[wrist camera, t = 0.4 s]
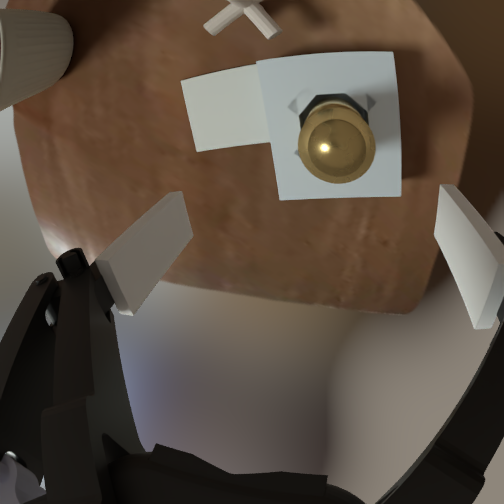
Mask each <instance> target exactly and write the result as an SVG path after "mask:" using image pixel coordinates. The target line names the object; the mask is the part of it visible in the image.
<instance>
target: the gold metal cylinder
mask: <svg viewBox="0 0 504 504" xmlns="http://www.w3.org/2000/svg"><path fill="white" fill-rule="evenodd" d="M298 152H299V156H300V158H301V161H302V163H303V164H304V166H305V167H306V169H307V170H308V171H309V172H310V173H311V174H312V175H314V176H315V177H317V178H319V179H320V180H323V181H325V182H329V183H334V184H342V183H348V182H352V181H354V180H356V179H358V178H360V177H361V176H363V175H364V174H365V173H366V172H367V171H368V169H369V168H370V166H371V165H372V163H373V160H374V157H375V152H376V144H375V139H374V135H373V133H372V131H371V129H370V127H369V126H368V124H367V123H366V122H365V120H364V119H363V118H362V116H361V115H360V114H359V113H358V111H357V110H356V109H355V107H354V106H353V105H352V104H351V103H350V102H348V101H347V100H345V99H342V98H339V97H327V98H324V99H321V100H320V101H318V102H317V103H316V104H315V105H314V106H313V107H312V109H311V111H310V113H309V115H308V117H307V119H306V121H305V123H304V125H303V127H302V129H301V131H300V134H299V138H298Z"/></svg>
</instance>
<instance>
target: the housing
mask: <svg viewBox="0 0 504 504" xmlns="http://www.w3.org/2000/svg"><path fill="white" fill-rule="evenodd" d="M256 64H257V69H258V74H259V79H260V85H261V90H262V96H263V101H264V107H265V112H266V118H267V124H268V130H269V136H270V142H271V148H272V154H273V160H274V166H275V172H276V179H277V185H278V192H279V198H280V200H295V199H317V198H345V197H397V196H401V130H400V113H399V99H398V89H397V79H396V71H395V63H394V56H393V52H377V51H365V52H334V53H319V54H308V55H298V56H289V57H281V58H274V59H267V60H261V61H256ZM327 97H339V98H342V99H345V100H347V101H348V102H350V103H351V104H352V105H353V106H354V107H355V109H356V110H357V111H358V113H359V114H360V115H361V116H362V118H363V119H364V120H365V122H366V123H367V124H368V126H369V127H370V129H371V131H372V133H373V135H374V139H375V144H376V152H375V157H374V160H373V163H372V165H371V166H370V168H369V169H368V171H367V172H366V173H365V174H364V175H363V176H361V177H360V178H358V179H356V180H354V181H352V182H348V183H342V184H334V183H329V182H325V181H323V180H320V179H319V178H317V177H315V176H314V175H312V174H311V173H310V172H309V171H308V170H307V169H306V167H305V166H304V164H303V163H302V161H301V158H300V156H299V152H298V138H299V134H300V131H301V129H302V127H303V125H304V123H305V121H306V119H307V117H308V115H309V113H310V111H311V109H312V107H313V106H314V105H315V104H316V103H317V102H318V101H320V100H321V99H324V98H327Z"/></svg>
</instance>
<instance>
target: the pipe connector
mask: <svg viewBox="0 0 504 504" xmlns="http://www.w3.org/2000/svg"><path fill="white" fill-rule="evenodd" d="M227 1H229V2H231V4H230V5H228V6H227V7H226V8H224V9H223V10H222V11H220V12H219V13H218V14H217V15H215V16H214V17H213V18H212V19H210V20H209V21H208V22H207V23H205V24H204V25H203V26H204V28H205V29H206V30H207V31H208V32H209V33H210V34H212V35H214V36H215V35H216V34H218V33H219V32H220V31H221V30H223V29H224V28H225V27H226V26H228V25H229V24H230V23H232V22H233V21H234V20H236V19H237V18H238V17H240V16H241V15H243V14H244V13H245V14H246V15H247V17H248V18H249V19H250V20H251V21H252V22H253V23H254V24H255V25H256V26H257V28H258V29H259V30H260V31H261V32H262V33H263V34H264V36H265V37H266V38H267V39H268V40H270V39H273V38H274V37H276V36H278V35H279V34H280V33H281V32H282V31H283V30H282V29H281V28H280V27H279V26H278V25H277V23H276V22H275V21H274V20H273V19H272V18H271V17H270V16H269V14H268V13H267V12H266V11H265V10H264V8H263V7H262V6H261V5H260V4H259V3H260V2H261V1H263V0H227Z"/></svg>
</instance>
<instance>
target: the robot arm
mask: <svg viewBox="0 0 504 504" xmlns="http://www.w3.org/2000/svg"><path fill="white" fill-rule="evenodd" d="M434 236H435V238H436V240H437V242H438V244H439V246H440V248H441V250H442V252H443V254H444V256H445V258H446V260H447V262H448V265H449V267H450V269H451V272H452V274H453V276H454V278H455V281H456V283H457V285H458V288H459V290H460V293H461V295H462V298H463V300H464V303H465V305H466V308H467V310H468V313H469V316H470V318H471V321H472V324H473V327H474V329H485V328H491V327H492V325H493V323H494V321H495V318H496V316H498V319H499V321H500V325H499V327H498V330H497V332H496V334H495V336H494V338H493V340H492V342H491V344H490V347H489V349H488V351H487V353H486V355H485V357H484V359H483V361H482V362H481V364H480V366H479V368H478V370H477V372H476V374H475V375H474V377H473V379H472V381H471V382H470V384H469V386H468V388H467V389H466V391H465V393H464V394H463V396H462V398H461V399H460V401H459V402H458V404H457V405H456V407H455V409H454V410H453V412H452V413H451V415H450V416H449V418H448V419H447V420H446V422H445V423H444V425H443V426H442V428H441V429H440V430H439V432H438V433H437V434H436V436H435V437H434V439H433V440H432V441H431V442H430V444H429V445H428V446H427V448H426V449H425V450H424V451H423V453H422V454H421V455H420V456H419V457H418V459H417V460H416V461H415V462H414V463H413V465H412V466H411V467H410V468H409V469H408V470H407V472H406V473H405V474H404V475H403V476H402V477H401V478H400V479H399V480H398V482H396V483H395V484H394V485H393V487H391V488H390V490H388V491H387V493H385V494H384V495H383V496H382V497H381V498H380V499H379V500H378V501H377V502H376V503H375V504H472V503H473V502H474V500H475V499H476V497H477V495H478V494H479V492H480V491H481V489H482V487H483V485H484V482H485V477H484V476H483V475H484V472H485V470H486V468H487V466H488V464H489V463H490V461H491V459H492V458H493V456H494V454H495V452H496V450H497V449H498V447H499V445H500V443H501V441H502V439H503V437H504V237H503V236H502V235H501V234H499V233H498V232H493V231H492V229H491V228H490V227H489V225H488V224H487V223H486V222H485V220H484V219H483V218H482V217H481V216H480V215H479V213H478V212H477V211H476V210H475V208H474V207H473V206H472V205H471V204H470V203H469V201H468V200H467V199H466V198H465V197H464V196H463V195H462V194H461V192H460V191H459V190H458V189H457V188H456V187H455V186H454V185H446V184H440V190H439V200H438V209H437V217H436V225H435V232H434ZM192 237H193V233H192V229H191V225H190V221H189V218H188V214H187V210H186V206H185V202H184V198H183V194H182V191H178V192H169V193H168V194H167V195H166V196H165V197H164V198H162V199H161V200H160V201H159V202H158V203H156V204H155V205H154V206H153V207H152V208H151V209H149V210H148V211H147V212H146V213H145V214H144V215H143V216H141V217H140V218H139V219H138V220H137V221H136V222H135V223H134V224H132V225H131V226H130V227H129V228H128V229H127V230H126V231H125V232H124V233H123V234H121V235H120V236H119V237H118V238H117V239H116V240H115V241H114V242H113V243H112V244H111V245H110V246H109V247H108V248H107V249H105V250H104V251H103V252H102V253H101V254H100V255H99V256H98V257H97V258H96V259H95V261H94V262H93V263H92V264H91V265H90V266H89V264H88V262H87V260H86V257H85V255H84V253H83V250H82V249H81V248H74V249H71V250H69V251H67V252H65V253H63V254H62V255H61V256H60V257H59V258H58V259H57V260H56V264H57V266H58V268H59V270H60V272H61V274H62V276H63V278H64V279H63V280H60V281H57V280H56V279H55V277H54V275H53V273H52V272H48V273H44V274H41V275H39V276H38V277H37V278H36V279H35V280H34V281H33V282H32V284H31V285H30V287H29V289H28V291H27V292H26V294H25V296H24V298H23V300H22V301H21V303H20V305H19V307H18V308H17V310H16V312H15V314H14V316H13V318H12V320H11V322H10V324H9V326H8V328H7V330H6V332H5V334H4V336H3V338H2V340H1V342H0V504H365V503H364V502H363V501H362V500H361V499H359V498H358V497H356V496H355V495H353V494H351V493H350V492H348V491H346V490H344V489H342V488H339V487H337V486H334V485H330V484H327V477H328V476H327V475H312V474H300V473H290V472H282V471H281V472H270V473H256V474H230V473H228V472H226V471H224V470H222V469H219V468H218V467H216V466H214V465H212V464H210V463H208V462H206V461H204V460H202V459H200V458H198V457H196V456H195V455H193V454H190V453H186V452H183V451H179V450H176V449H173V448H169V447H166V446H163V445H159V444H156V445H155V447H154V449H153V451H152V452H146V451H145V449H144V448H143V446H142V445H141V442H140V440H139V438H138V434H137V430H136V426H135V422H134V419H133V415H132V411H131V407H130V402H129V398H128V394H127V389H126V385H125V380H124V375H123V370H122V365H121V359H120V354H119V348H118V342H117V335H116V329H115V322H114V315H113V313H112V311H111V309H110V308H111V307H112V306H113V304H114V303H115V305H116V307H117V309H118V311H119V312H120V314H125V315H132V316H134V314H135V313H136V312H137V310H138V309H139V308H140V306H141V305H142V303H143V302H144V301H145V299H146V298H147V297H148V295H149V294H150V292H151V291H152V290H153V288H154V287H155V286H156V284H157V283H158V282H159V280H160V279H161V278H162V276H163V275H164V274H165V272H166V271H167V270H168V268H169V267H170V266H171V264H172V263H173V262H174V260H175V259H176V258H177V257H178V255H179V254H180V253H181V251H182V250H183V249H184V247H185V246H186V245H187V244H188V242H189V241H190V240H191V238H192ZM45 313H46V315H47V316H48V318H49V319H50V321H51V324H50V326H49V325H48V323H47V321H46V317H45ZM5 453H6V454H5ZM43 475H44V480H45V488H46V490H44V489H43V488H42V487H40V485H41V482H42V479H43Z"/></svg>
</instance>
